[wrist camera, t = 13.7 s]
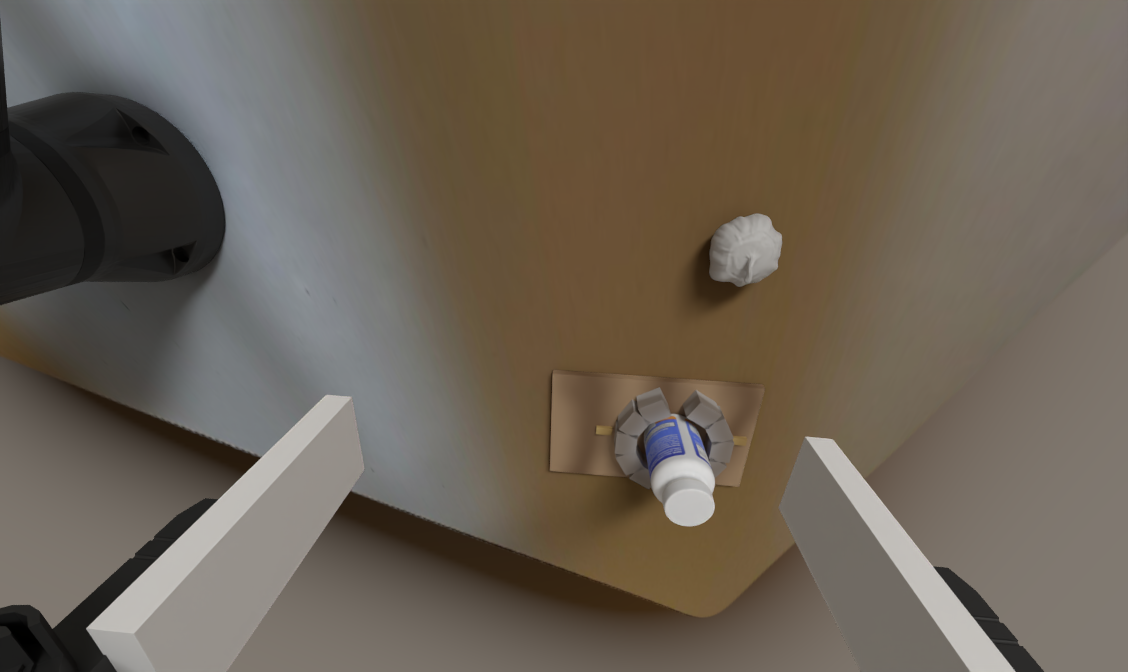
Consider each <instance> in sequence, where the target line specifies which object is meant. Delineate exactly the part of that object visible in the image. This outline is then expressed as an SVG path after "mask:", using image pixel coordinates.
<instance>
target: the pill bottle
mask: <svg viewBox="0 0 1128 672" xmlns="http://www.w3.org/2000/svg"><path fill="white" fill-rule="evenodd" d="M644 444H645V451H646V457H647V463H648V469H649V475H650V481H651V487H652V490H653V493H654V495H655V496H656V497H657V499H658V500H659V501H660V502H662V503H663V507H664V511H665V514H666V515H667V517H668V518H669V519H670V520H671V521H672V522H674V523H676V524H678V525H682V526H696V525H699V524H702V523H704V522H705V521H707V520H708V519H709V518H710V517H711V516H712V514H713V512H714V508H715V505H714V500H713V496H712V493H713V490H714V487H715V478H714V474H713V471H712V468H711V465H710V463H709V460H708V457H707V454H706V451H705V448H704V446H703V443H702V440H701V437H700V434H699V431H698V429H697V427H696V426H695V424H694V423H693V422H692V421H691V420H690V419H688V418H686V417H684V416H682V415H678V414H671V417H668V418H666V419H663V420H660V421H657V422H655V423H652V424H649V426H648V427H647V428H646V429H645V432H644Z"/></svg>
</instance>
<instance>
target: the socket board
mask: <svg viewBox="0 0 1128 672" xmlns="http://www.w3.org/2000/svg"><path fill="white" fill-rule="evenodd" d="M764 391H765V388H764V386H763V385H762V384H751V383H736V382H722V381H707V380H693V379H678V378H664V377H650V376H635V375H621V374H606V373H592V372H577V371H563V370H553V376H552V413H551V450H550V471H557V472H569V473H581V474H593V475H605V476H617V477H629V479H631V480H633V481H634V482H636V483H638V484H640V485H642V486H643V487H645V488H647V489H650V488H651V481H650V475H649V469H648V463H647V457H646V451H645V444H644V432H645V429H646V428H647V427H648V426H649V424H652V423H655V422H657V421H660V420H663V419H666V418H668V417H671V414H678V415H682V416H684V417H686V418H688V419H690V420H691V421H692V422H693V423H694V424H695V426H696V427H697V429H698V431H699V434H700V437H701V440H702V443H703V446H704V448H705V451H706V454H707V457H708V460H709V463H710V465H711V468H712V471H713V474H714V478H715V485H726V486H738V487H739V485H740V481H741V477H742V474H743V470H744V466H745V462H746V459H747V455H748V451H749V448H750V444H751V440H752V436H753V433H754V429H755V425H756V421H757V418H758V414H759V410H760V406H761V403H762V399H763V395H764Z"/></svg>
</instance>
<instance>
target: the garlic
mask: <svg viewBox="0 0 1128 672" xmlns="http://www.w3.org/2000/svg"><path fill="white" fill-rule="evenodd" d="M781 246H782V235H781V234H780V233H779V232H777V231H776V230H775V229H773V226H772V222H771V220H770V218H769V217H768V216H765V215H762V214H753V215H749V216H747V217H737V218H735V219H734V220H732V221H731V222H729V223H727V224H723V225H722V226H720V227H719V229H717V230H716V232H715V234H714V235H713V237H712V239H711V248H710V252H709V255H710V269H709V274H710V276H711V278H712V279H713V280H716V281H720V282H726V281H727V282H732V283H734V284H735V285H736V286H738V287H741V286H744V285H746V284H749V283H757V282H759V281H761V280H762V279H763V278H765V277H767V276H769V275H770V274H771V273H772V272H773V271H775V270H776V269H777V268H778V258H779V257H780V253H781V252H780V250H781Z"/></svg>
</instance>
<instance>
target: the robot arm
mask: <svg viewBox="0 0 1128 672" xmlns="http://www.w3.org/2000/svg"><path fill="white" fill-rule="evenodd" d="M223 232H224V212H223V206H222V201H221V197H220V194H219V191H218V188H217V185H216V183H215V180H214V178H213V176H212V174H211V172H210V170H209V168H208V167H207V165H206V163H205V162H204V160H203V159H202V157H201V156H200V154H199V153H198V152H197V150H196V149H195V148H194V146H193V145H192V144H191V143H190V142H189V140H188V139H187V138H186V137H185V136H184V135H183V134H182V133H181V132H180V131H179V130H178V129H177V128H176V127H174V126H173V125H172V124H171V123H170V122H168V121H167V120H166V119H165V118H163V117H162V116H160V115H159V114H157V113H156V112H154V111H153V110H151V109H149V108H147V107H145V106H143V105H141V104H139V103H137V102H135V101H132V100H129V99H126V98H123V97H119V96H113V95H105V94H93V93H81V92H71V93H61V94H56V95H52V96H49V97H45V98H41V99H38V100H34V101H31V102H27V103H23V104H20V105H16V106H13V107H9V108H7V101H6V88H5V74H4V61H3V47H2V34H1V20H0V305H3V304H7V303H10V302H13V301H17V300H20V299H24V298H27V297H31V296H34V295H38V294H41V293H45V292H48V291H52V290H55V289H58V288H62V287H65V286H69V285H73V284H77V283H80V282H158V281H165V280H170V279H174V278H177V277H180V276H183V275H186V274H189V273H192V272H195V271H197V270H199V269H201V268H202V267H204V266H205V265H207V264H208V263H209V262H210V261H211V260H212V258H213V257H214V256H215V254H216V253H217V251H218V249H219V247H220V244H221V241H222V237H223ZM363 471H364V464H363V458H362V452H361V447H360V441H359V435H358V429H357V424H356V418H355V412H354V406H353V401H352V397H346V396H334V395H326V396H324V397H323V398H322V399H321V400H320V401H319V402H318V403H317V404H316V405H315V406H314V407H313V408H312V409H311V410H310V411H309V412H308V413H307V414H306V415H305V416H304V417H303V418H302V419H301V420H300V421H299V422H298V423H297V424H296V425H295V426H294V427H293V428H292V429H291V430H290V431H289V432H287V433H286V434H285V435H284V436H283V437H282V438H281V439H280V440H279V441H278V442H277V443H276V444H275V445H274V446H273V447H272V448H271V449H270V450H269V451H268V452H267V453H266V454H265V455H264V456H263V457H262V458H261V459H260V460H259V461H258V462H257V463H256V464H255V465H254V466H253V467H252V468H250V469H249V470H248V472H246V473H245V474H244V475H243V476H242V477H241V478H240V479H239V480H238V481H237V482H236V483H235V484H234V485H233V486H232V487H231V488H230V489H229V490H228V491H227V492H226V493H225V494H224V495H223V496H222V497H221V498H220V499H219V500H218V499H206V498H205V499H203V500H202V501H200V502H198V503H197V504H195V505H193V506H192V507H190V508H189V509H187V510H185V511H183V512H182V513H180V514H178V515H177V516H176V517H175V518H174V519H173V520H172V521H170V522H169V523H168V524H167V525H166V526H165V527H164V528H163V529H162V530H161V531H159V532H158V533H157V534H156V535H155V536H154V539H153V540H152V541H149V542H147V543H146V544H145V545H144V546H143V547H142V548H141V549H140V550H139V551H138V552H137V553H135V557H134V558H133V559H131V558H130V559H129V560H128V561H127V562H126V563H124V564H123V565H122V566H121V567H120V568H119V569H118V570H117V571H116V572H115V573H114V574H112V575H111V576H110V577H109V578H108V579H107V580H106V581H105V582H104V583H103V584H101V585H100V586H99V587H98V588H97V589H96V590H95V591H94V592H93V593H92V594H91V595H89V596H88V597H87V598H86V599H85V600H84V601H83V602H82V603H81V604H80V605H78V607H76V608H75V609H74V610H73V611H72V612H71V613H70V614H69V615H68V616H66V617H65V618H64V619H63V620H62V621H61V622H60V623H59V624H58V625H57V626H56V627H55V628H53V629H52V628H51V627H50V625H49V624H48V622H47V621H46V619H45V618H44V617H43V615H42V614H41V613H40V611H39V610H37V609H35V608H33V607H32V606H30V605H11V606H7V607H4V608H0V672H226V671H227V670H228V669H229V667H230V666H231V664H232V663H233V661H234V660H235V658H236V657H237V655H238V654H239V652H240V651H241V650H242V648H243V647H244V645H245V644H246V642H247V640H248V639H249V638H250V636H251V635H252V633H253V632H254V631H255V629H256V628H257V626H258V625H259V623H260V622H261V620H262V619H263V617H264V616H265V614H266V613H267V612H268V610H269V609H270V607H271V606H272V604H273V603H274V601H275V600H276V598H277V597H278V595H279V594H280V592H281V591H282V589H283V588H284V587H285V585H286V584H287V582H288V580H289V579H290V578H291V576H292V575H293V573H294V572H295V570H296V569H297V567H298V566H299V565H300V563H301V562H302V560H303V559H304V557H305V556H306V554H307V553H308V551H309V550H310V548H311V547H312V546H313V544H314V542H315V541H316V540H317V538H318V537H319V535H320V534H321V533H322V531H323V530H324V528H325V527H326V525H327V524H328V522H329V521H330V519H331V518H332V516H333V515H334V513H335V512H336V510H337V509H338V508H339V506H340V505H341V503H342V502H343V500H344V499H345V497H346V496H347V494H348V493H349V492H350V490H351V489H352V487H353V486H354V484H355V483H356V481H357V480H358V478H359V477H360V475H361V474H362V473H363ZM779 510H780V512H781V514H782V516H783V518H784V520H785V522H786V524H787V526H788V528H789V530H790V532H791V534H792V536H793V538H794V540H795V542H796V544H797V546H798V548H799V550H800V552H801V554H802V556H803V557H804V560H805V562H806V564H807V566H808V568H809V570H810V572H811V574H812V576H813V578H814V579H815V582H816V584H817V586H818V588H819V590H820V592H821V594H822V596H823V598H824V600H825V602H826V604H827V606H828V608H829V610H830V612H831V614H832V616H833V618H834V620H835V622H836V624H837V626H838V628H839V630H840V632H841V634H842V636H843V638H844V640H845V642H846V644H847V646H848V648H849V650H850V652H851V654H852V656H853V658H854V660H855V662H856V664H857V666H858V668H859V670H860V672H1044V671H1043V670H1042V669H1041V667H1040V666H1039V665H1038V664H1037V663H1036V661H1035V660H1034V659H1033V658H1032V657H1031V656H1030V654H1029V653H1028V652H1027V651H1026V650H1025V649H1024V648H1023V646H1019V644H1018V640H1017V639H1016V638H1015V636H1014V635H1013V634H1012V633H1011V632H1010V631H1009V630H1008V628H1007V627H1006V626H1005V625H1004V624H1003V623H1000V622H999V617H998V616H997V615H996V614H995V613H994V611H993V610H992V609H991V608H990V607H989V606H988V604H987V603H986V602H985V601H984V600H983V598H982V597H981V596H980V595H979V594H978V593H977V592H976V590H974V589H973V588H972V587H971V586H969V585H968V584H967V583H966V582H965V581H963V580H962V579H961V578H960V577H958V576H957V575H956V574H955V573H954V572H952V571H951V570H950V569H949V568H944V567H933V566H932V565H931V564H930V562H929V561H928V560H927V559H926V557H925V556H924V555H923V553H922V552H921V551H920V550H919V549H918V547H917V546H916V545H915V543H914V542H913V541H912V540H911V538H910V537H909V536H908V535H907V533H906V532H905V531H904V529H903V528H902V527H901V526H900V524H899V523H898V522H897V521H896V519H895V518H894V517H893V516H892V514H891V513H890V512H889V510H888V509H887V508H886V507H885V505H884V504H883V503H882V501H881V500H880V499H879V498H878V496H877V495H876V494H875V492H874V491H873V490H872V489H871V487H870V486H869V485H868V484H867V482H866V481H865V480H864V479H863V477H862V476H861V475H860V473H859V472H858V471H857V470H856V468H855V467H854V466H853V465H852V463H851V462H850V461H849V459H848V458H847V457H846V456H845V454H844V453H843V452H842V451H841V449H840V448H839V447H838V445H837V444H836V443H835V442H834V440H833V439H826V438H814V437H805V438H804V441H803V444H802V447H801V449H800V452H799V455H798V457H797V460H796V463H795V465H794V468H793V471H792V473H791V476H790V479H789V481H788V484H787V487H786V490H785V492H784V495H783V498H782V500H781V503H780V506H779Z"/></svg>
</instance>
